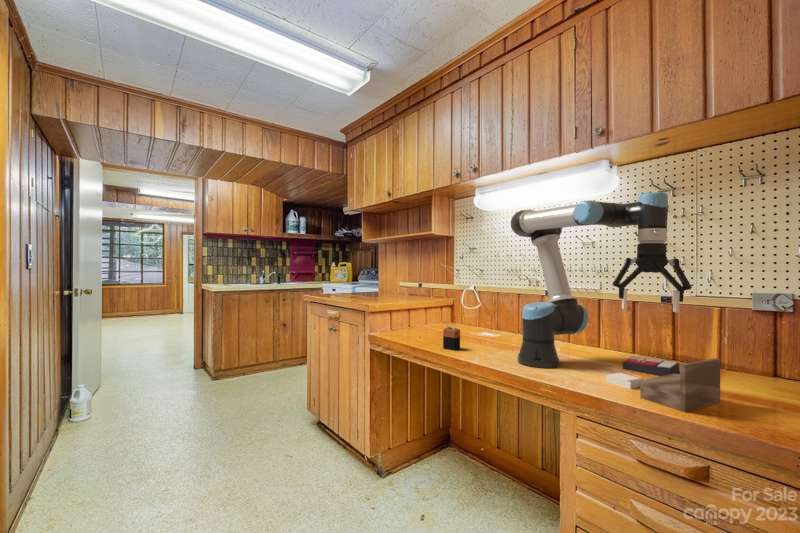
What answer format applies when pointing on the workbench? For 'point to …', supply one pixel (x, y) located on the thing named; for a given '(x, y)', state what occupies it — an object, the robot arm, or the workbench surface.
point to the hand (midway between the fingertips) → (649, 310)
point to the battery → (451, 338)
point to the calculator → (651, 366)
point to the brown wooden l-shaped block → (685, 386)
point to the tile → (624, 380)
